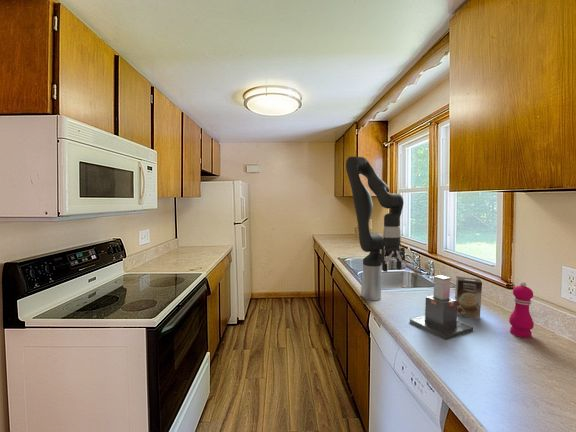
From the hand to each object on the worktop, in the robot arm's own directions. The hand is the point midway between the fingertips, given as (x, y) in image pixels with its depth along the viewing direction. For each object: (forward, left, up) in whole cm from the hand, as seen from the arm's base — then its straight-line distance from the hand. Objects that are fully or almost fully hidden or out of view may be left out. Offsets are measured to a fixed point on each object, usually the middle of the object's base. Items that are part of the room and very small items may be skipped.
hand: (391, 270), depth 136 cm
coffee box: (+22, +23, -18) cm, 36 cm away
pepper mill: (+42, +24, -18) cm, 51 cm away
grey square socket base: (+25, +2, -17) cm, 30 cm away
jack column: (+25, +2, -15) cm, 29 cm away
